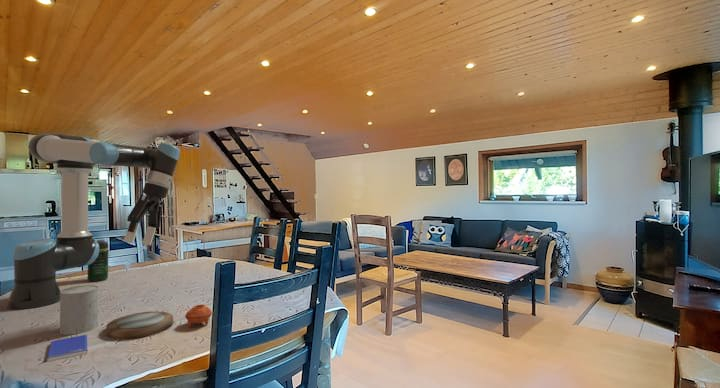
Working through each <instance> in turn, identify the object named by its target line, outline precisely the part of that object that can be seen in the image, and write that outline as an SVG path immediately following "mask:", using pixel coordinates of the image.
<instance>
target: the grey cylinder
mask: <svg viewBox="0 0 720 388" xmlns="http://www.w3.org/2000/svg"><path fill="white" fill-rule="evenodd" d="M59 306H60V307H59V334H61V335H65V336H66V335H70V336H71V335H79V334H83V333H87V332H90V331H93V330H95V329H97V328H98V327H99V286H98V285H94V284H93V285H91V284H90V285H89V284H85V285H76V286H72V287H71V286H70V287H67V288H64V289H60V301H59Z"/></svg>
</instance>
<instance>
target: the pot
mask: <svg viewBox="0 0 720 388" xmlns="http://www.w3.org/2000/svg"><path fill="white" fill-rule="evenodd" d="M212 314H213V311H212V310H211V309H210V308H209V307H208V306H206V305H205V304H196V305H193V306H192V308H189V310H188V311H187V312H186V314H185V316H184V317H185V319H186V320H187V325H188V327H189V328H191V327H192V326H191V325H192V324H201V323H204V324H205V326H208V324H209V319H210V317H211V316H212Z"/></svg>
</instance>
